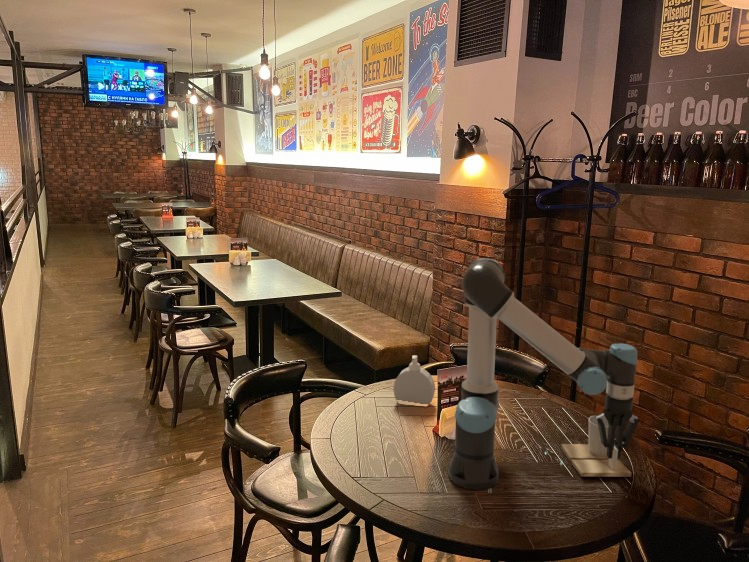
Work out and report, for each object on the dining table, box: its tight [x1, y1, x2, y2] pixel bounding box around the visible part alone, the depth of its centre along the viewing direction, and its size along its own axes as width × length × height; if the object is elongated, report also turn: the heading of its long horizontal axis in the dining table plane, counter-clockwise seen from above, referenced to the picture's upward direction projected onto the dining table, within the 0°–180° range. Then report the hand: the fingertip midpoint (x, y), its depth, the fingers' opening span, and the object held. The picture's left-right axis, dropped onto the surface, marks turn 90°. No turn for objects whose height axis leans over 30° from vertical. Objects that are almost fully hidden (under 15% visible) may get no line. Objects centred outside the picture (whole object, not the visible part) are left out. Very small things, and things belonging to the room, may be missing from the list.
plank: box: [570, 459, 632, 478], centre depth 173 cm, size 15×9×1 cm, turn 89°
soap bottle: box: [392, 354, 436, 406], centre depth 220 cm, size 16×5×20 cm, turn 75°
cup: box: [587, 415, 608, 457], centre depth 182 cm, size 8×8×12 cm
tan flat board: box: [561, 443, 619, 463], centre depth 183 cm, size 15×9×1 cm, turn 89°
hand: (612, 467), depth 172 cm, fingers closed
